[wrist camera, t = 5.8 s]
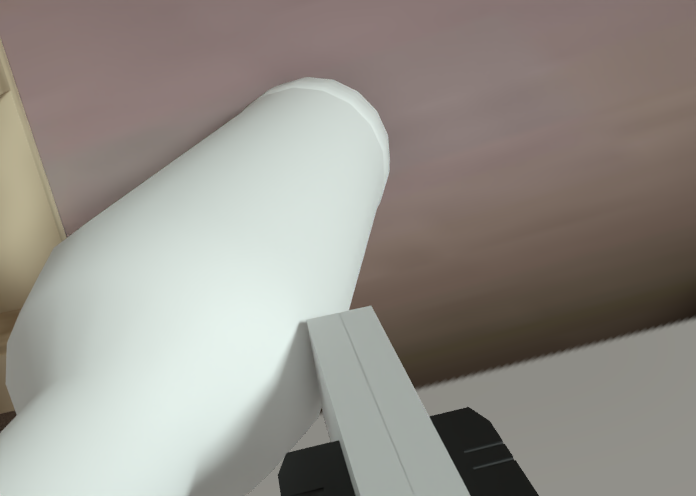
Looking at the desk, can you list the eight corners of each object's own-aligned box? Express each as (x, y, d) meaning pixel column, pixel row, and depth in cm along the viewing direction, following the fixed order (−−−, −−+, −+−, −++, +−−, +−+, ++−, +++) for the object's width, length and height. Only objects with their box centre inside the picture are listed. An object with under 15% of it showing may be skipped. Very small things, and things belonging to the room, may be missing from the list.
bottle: (301, 247, 36) (-132, 1102, 9) (213, 132, 34) (-693, 777, 7) (421, 171, 34) (329, 1061, 6) (333, 42, 32) (-369, 513, 4)
